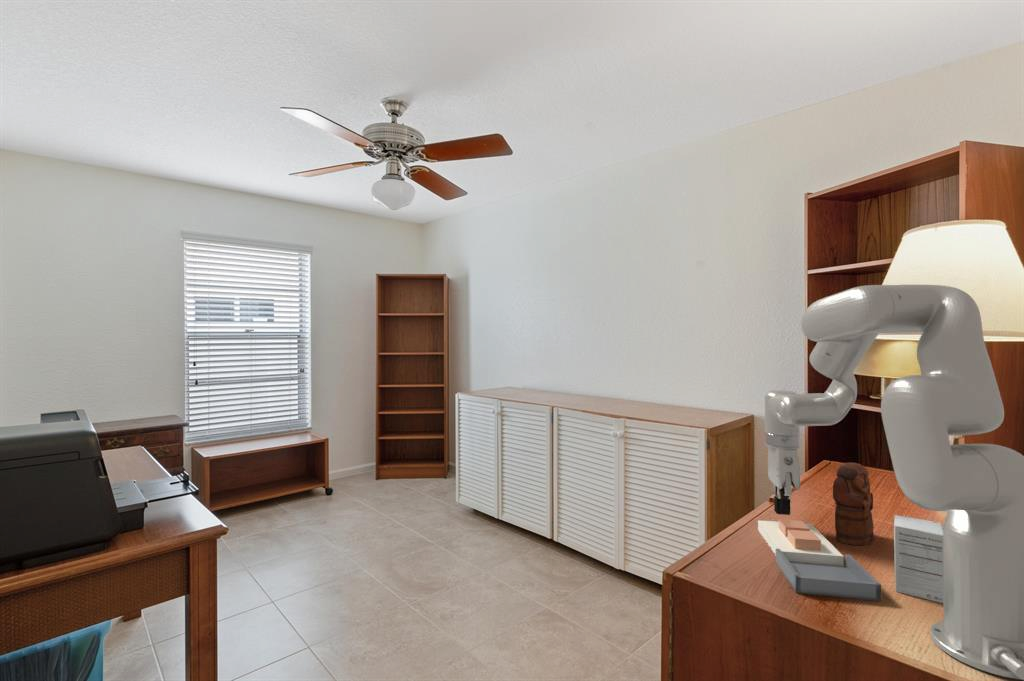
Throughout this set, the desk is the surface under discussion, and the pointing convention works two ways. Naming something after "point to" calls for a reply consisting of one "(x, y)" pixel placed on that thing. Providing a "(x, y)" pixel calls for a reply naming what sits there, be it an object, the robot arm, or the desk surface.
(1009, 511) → the robot arm
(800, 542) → the tile front
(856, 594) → the tray
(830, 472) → the desk surface
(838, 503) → the wooden figurine
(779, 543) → the board
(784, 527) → the tile back
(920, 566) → the supplement box
